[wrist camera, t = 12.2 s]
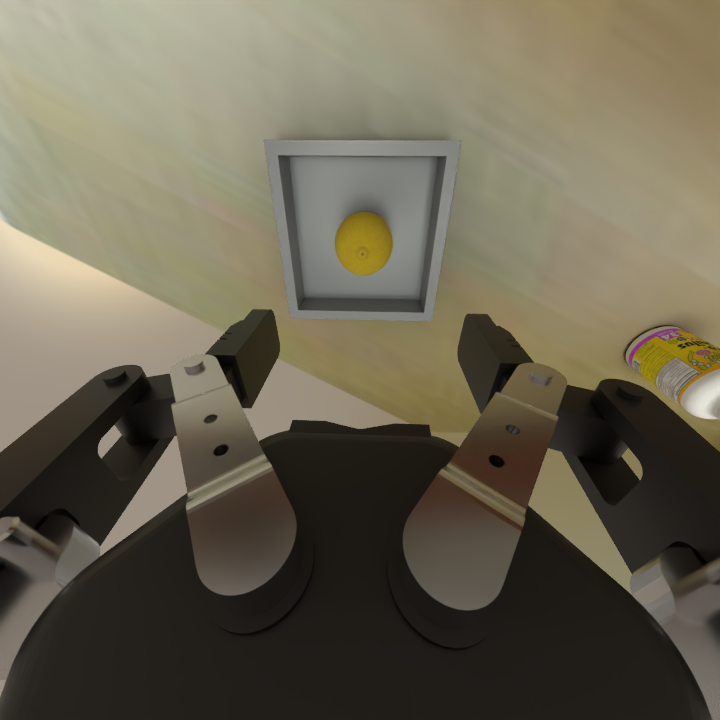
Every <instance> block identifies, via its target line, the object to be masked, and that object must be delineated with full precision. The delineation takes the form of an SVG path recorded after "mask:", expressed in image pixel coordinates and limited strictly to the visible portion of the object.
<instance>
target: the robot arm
mask: <svg viewBox="0 0 720 720" xmlns="http://www.w3.org/2000/svg"><path fill="white" fill-rule="evenodd" d="M279 352H280V342H279V337H278V331H277V326H276V321H275V316H274V313H273V311H272V310H262V309H253V310H252V311H251V312H250V313H249V314H248V315H247V317H246V318H245V319H244V320H241V321H239V322H237V323H235V324H234V325H232V326H230V327H229V329H228V330H227V331H226V332H225V334H223V335H222V336H221V337H220V340H218V341H217V342H216V343H215V344H214V345H213V346H212V347H211V348H210V349H209V350H208V351H207V353H206V354H204V355H203V354H202V355H195V356H191V357H188V358H185V359H183V360H181V361H179V362H177V363H176V364H175V365H174V366H173V367H172V368H171V370H170V374H164V375H159V376H152V377H146V375H145V373H144V371H143V370H142V368H141V367H140V366H137V365H124V366H119V367H115V368H112V369H109V370H107V371H104V372H102V373H100V374H99V375H97V376H95V377H94V378H93V379H92V380H90V381H89V382H88V383H86V384H85V385H84V386H83V387H81V388H80V389H79V390H78V391H77V392H75V393H74V394H73V395H71V396H70V397H69V398H68V399H67V400H65V401H64V402H63V403H61V404H60V405H59V406H58V407H56V408H55V409H54V410H53V411H51V412H50V413H49V414H48V415H47V416H45V417H44V418H43V419H42V420H40V421H39V422H38V423H37V424H35V425H34V426H33V427H32V428H30V429H29V430H28V431H27V432H25V433H24V434H23V435H22V436H20V437H19V438H18V439H17V440H16V441H14V442H13V443H12V444H11V445H9V446H8V447H7V448H5V449H4V450H3V451H2V452H0V692H2V694H1V697H0V720H720V452H719V451H718V450H717V449H715V448H714V447H713V446H712V445H711V444H710V443H709V442H708V441H706V440H705V439H704V438H703V437H702V436H701V435H700V434H699V433H697V432H696V431H695V430H694V429H693V428H692V427H691V426H689V425H688V424H687V423H686V422H685V421H684V420H683V419H682V418H680V417H679V416H678V415H677V414H676V413H675V412H674V411H673V410H671V409H670V408H669V407H668V406H667V405H666V404H665V403H664V402H662V401H661V400H660V399H659V398H658V397H657V396H656V395H654V394H653V393H652V392H650V391H649V390H647V389H645V388H643V387H641V386H639V385H637V384H634V383H631V382H628V381H624V380H619V379H605V380H602V381H601V382H600V383H599V385H598V386H597V388H596V389H595V391H593V390H589V389H584V388H579V387H575V386H570V385H567V380H566V378H565V377H564V376H563V375H562V374H561V373H560V372H558V371H557V370H555V369H553V368H551V367H549V366H546V365H543V364H538V363H534V362H533V361H532V359H531V358H530V357H529V356H528V354H527V353H526V352H525V351H524V349H523V348H522V347H520V344H519V343H518V342H517V341H516V339H515V338H514V337H513V336H512V334H511V333H510V332H508V331H507V330H505V329H504V328H502V327H500V326H496V325H495V324H494V322H493V321H492V320H491V318H490V317H489V316H488V314H467V315H466V317H465V319H464V323H463V328H462V332H461V337H460V341H459V345H458V361H459V363H460V366H461V368H462V371H463V373H464V375H465V378H466V380H467V382H468V385H469V387H470V390H471V392H472V394H473V397H474V399H475V401H476V404H477V406H478V409H479V411H480V413H481V415H480V417H479V418H478V420H477V421H476V423H475V424H474V426H473V427H472V429H471V430H470V432H469V433H468V435H467V437H466V438H465V439H464V441H463V442H462V444H461V446H460V447H458V446H456V445H454V444H452V443H450V442H448V441H446V440H444V439H441V438H438V437H434V436H431V432H430V427H429V425H421V424H389V425H383V426H378V427H372V428H366V429H356V428H351V427H347V426H343V425H339V424H335V423H331V422H327V421H307V420H293V421H292V424H291V427H290V429H289V430H288V431H284V432H280V433H277V434H274V435H271V436H269V437H266V438H264V439H262V440H260V441H259V442H258V440H257V438H256V435H255V433H254V431H253V429H252V427H251V425H250V423H249V421H248V419H247V417H246V415H245V413H244V411H243V408H252V406H253V404H254V402H255V400H256V398H257V396H258V394H259V392H260V391H261V388H262V387H263V385H264V383H265V381H266V379H267V377H268V375H269V373H270V371H271V369H272V368H273V365H274V364H275V362H276V360H277V358H278V356H279ZM114 424H115V426H116V427H117V429H118V430H119V431H120V433H121V434H122V436H121V437H120V438H119V439H118V441H117V442H116V443H115V444H114V445H113V446H112V447H111V449H110V450H109V451H108V452H107V453H106V454H105V456H104V457H103V458H102V459H101V458H100V457H99V455H98V444H99V442H100V440H101V438H102V437H103V436H104V435H105V434H106V433H107V432H108V431H109V430H110V428H111V427H112V426H113V425H114ZM174 436H177V439H178V444H179V449H180V455H181V461H182V466H183V471H184V477H185V481H186V487H187V493H186V494H185V495H184V496H182V497H181V498H180V499H178V500H177V501H176V502H174V503H173V504H171V505H170V506H169V507H167V508H166V509H164V510H163V511H162V512H160V513H159V514H158V515H156V516H155V517H154V518H152V519H151V520H149V521H148V522H147V523H145V524H144V525H143V526H141V527H140V528H139V529H137V530H136V531H135V532H133V533H132V534H130V535H129V536H128V537H126V538H125V539H123V540H122V541H121V542H119V543H118V544H117V545H115V546H114V547H113V548H111V549H110V550H108V551H107V552H106V553H104V554H103V555H102V556H100V557H99V555H100V546H101V544H102V543H103V541H104V540H105V538H106V537H107V535H108V534H109V532H110V531H111V530H112V528H113V527H114V525H115V523H116V522H117V520H118V519H119V518H120V516H121V515H122V513H123V512H124V510H125V509H126V507H127V505H128V504H129V503H130V501H131V500H132V498H133V497H134V495H135V494H136V492H137V491H138V489H139V488H140V487H141V485H142V484H143V482H144V481H145V479H146V478H147V476H148V474H149V473H150V472H151V470H152V469H153V467H154V466H155V464H156V462H157V461H158V460H159V458H160V457H161V455H162V454H163V452H164V451H165V449H166V448H167V447H168V445H169V443H170V442H171V441H172V439H173V437H174ZM628 447H629V449H630V450H631V451H632V452H633V454H634V455H635V456H636V457H637V458H638V460H639V461H640V463H641V466H642V469H643V476H642V479H641V480H639V479H638V477H637V476H636V475H635V473H633V471H632V470H631V469H630V467H629V466H628V464H627V463H626V462H625V461H624V459H623V458H622V457H621V456H622V455H623V453H624V452H625V451H626V450H627V449H628ZM548 448H550V449H554V450H558V451H561V452H562V453H563V455H564V456H565V459H566V460H567V462H568V463H569V465H570V467H571V469H572V471H573V472H574V474H575V476H576V478H577V479H578V481H579V483H580V484H581V486H582V488H583V490H584V492H585V493H586V495H587V497H588V498H589V500H590V502H591V504H592V505H593V507H594V509H595V511H596V512H597V514H598V516H599V518H600V519H601V521H602V523H603V525H604V526H605V528H606V530H607V531H608V533H609V535H610V537H611V538H612V540H613V542H614V544H615V545H616V547H617V549H618V551H619V552H620V554H621V556H622V557H623V559H624V561H625V562H626V565H627V566H628V568H629V570H630V571H631V573H632V576H631V578H630V589H631V593H632V595H631V594H630V593H629V592H628V591H627V590H625V589H624V588H623V587H622V586H621V585H620V584H618V583H617V582H616V581H615V580H614V579H613V578H611V577H610V576H609V575H608V574H607V573H606V572H605V571H603V570H602V569H601V568H600V567H599V566H597V565H596V564H595V563H594V562H593V561H592V560H591V559H590V558H588V557H587V556H586V555H585V554H584V553H583V552H581V551H580V550H579V549H578V548H577V547H576V546H574V545H573V544H572V543H571V542H570V541H569V540H567V539H566V538H565V537H564V536H563V535H562V534H561V533H559V532H558V531H557V530H556V529H555V528H554V527H553V526H551V525H550V524H549V523H548V522H547V521H546V520H544V519H543V518H542V517H541V516H540V515H539V514H537V513H536V512H535V511H534V510H533V509H532V508H530V507H529V506H528V503H529V500H530V497H531V495H532V492H533V489H534V486H535V483H536V480H537V478H538V475H539V472H540V469H541V466H542V463H543V460H544V458H545V455H546V452H547V449H548Z"/></svg>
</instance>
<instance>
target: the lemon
mask: <svg viewBox="0 0 720 720" xmlns="http://www.w3.org/2000/svg"><path fill="white" fill-rule="evenodd" d="M392 248H393V237H392V234H391V230H390V228H389V227H388V225H387V223H386V222H385V221H384V220H383V219H382V218H381V217H380V216H378V215H376V214H374V213H371V212H357V213H354V214H352V215H350V216H349V217H347V218H346V219H345V220H344V221H343V222H342V223H341V224H340V226H339V228H338V230H337V233H336V237H335V251H336V255H337V258H338V260H339V261H340V263H341V265H342V266H343V267H344V268H345V269H346V270H348V271H349V272H351V273H353V274H356V275H361V276H366V275H371V274H374V273H376V272H378V271H379V270H380V269H382V268H383V267H384V266H385V264H386V263H387V262H388V260H389V258H390V256H391V253H392Z"/></svg>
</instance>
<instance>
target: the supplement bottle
mask: <svg viewBox="0 0 720 720" xmlns="http://www.w3.org/2000/svg"><path fill="white" fill-rule="evenodd" d="M626 362H627V363H628V365H629V366H630V367H631V368H632V369H634V370H635V371H636V372H637V373H639V374H640V375H641V376H643V377H644V378H645V379H646V380H648V381H649V382H650V383H652V384H653V385H654V386H656V387H657V388H658V389H659V390H661V391H662V392H663V393H665V394H666V395H667V396H668V397H670V398H671V399H672V400H674V401H675V402H676V403H677V404H679V405H680V406H681V407H682V408H684V409H685V410H686V411H688V412H689V413H691V414H692V415H695V416H697V417H700V418H705V419H718V420H719V421H720V349H719V348H718V347H716V346H714V345H712V344H710V343H708V342H706V341H704V340H702V339H700V338H699V337H697V336H695V335H693V334H691V333H689V332H687V331H685V330H683V329H681V328H678V327H672V326H666V327H659V328H655V329H652V330H650V331H648V332H646V333H644V334H642V335H641V336H639V337H638V338H637V339H635V340H634V341H633V342H632V344H631V345H630V346H629V348H628V350H627V352H626Z"/></svg>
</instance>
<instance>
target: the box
mask: <svg viewBox="0 0 720 720" xmlns="http://www.w3.org/2000/svg"><path fill="white" fill-rule="evenodd" d="M461 141H462V140H264V146H265V153H266V159H267V166H268V173H269V179H270V186H271V193H272V199H273V206H274V213H275V219H276V226H277V233H278V239H279V246H280V253H281V259H282V266H283V273H284V279H285V286H286V293H287V299H288V306H289V313H290V318H306V319H353V320H399V321H432V317H433V311H434V305H435V299H436V293H437V287H438V281H439V275H440V269H441V262H442V256H443V250H444V244H445V238H446V232H447V226H448V220H449V214H450V208H451V202H452V196H453V190H454V184H455V178H456V172H457V166H458V160H459V153H460V147H461ZM357 212H371V213H374V214H376V215H378V216H380V217H381V218H382V219H383V220H384V221H385V222H386V223H387V225H388V227H389V228H390V230H391V234H392V237H393V248H392V253H391V256H390V258H389V260H388V262H387V263H386V264H385V266H384V267H383V268H382V269H380V270H379V271H378V272H376V273H374V274H371V275H366V276H361V275H356V274H353V273H351V272H349V271H348V270H346V269H345V268H344V267H343V266H342V265H341V263H340V261H339V260H338V258H337V255H336V251H335V237H336V233H337V230H338V228H339V226H340V224H341V223H342V222H343V221H344V220H345V219H346V218H347V217H349V216H350V215H352V214H354V213H357Z"/></svg>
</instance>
